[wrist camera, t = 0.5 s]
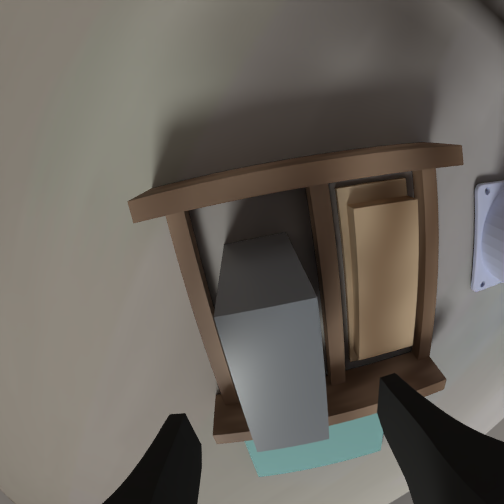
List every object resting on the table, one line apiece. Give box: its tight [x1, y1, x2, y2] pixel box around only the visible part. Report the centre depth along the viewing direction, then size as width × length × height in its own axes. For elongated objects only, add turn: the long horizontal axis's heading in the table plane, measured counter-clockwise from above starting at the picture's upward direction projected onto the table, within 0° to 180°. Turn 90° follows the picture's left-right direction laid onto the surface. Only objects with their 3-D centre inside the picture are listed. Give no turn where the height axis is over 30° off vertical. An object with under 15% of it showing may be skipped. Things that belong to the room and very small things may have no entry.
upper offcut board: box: [347, 196, 419, 360], centre depth 18 cm, size 4×10×1 cm, turn 10°
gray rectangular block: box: [214, 232, 329, 452], centre depth 16 cm, size 4×8×8 cm, turn 11°
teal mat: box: [245, 413, 383, 477], centre depth 24 cm, size 12×9×1 cm
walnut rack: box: [128, 142, 463, 444], centre depth 17 cm, size 16×16×4 cm
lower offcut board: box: [335, 178, 407, 362], centre depth 19 cm, size 4×12×1 cm, turn 11°
